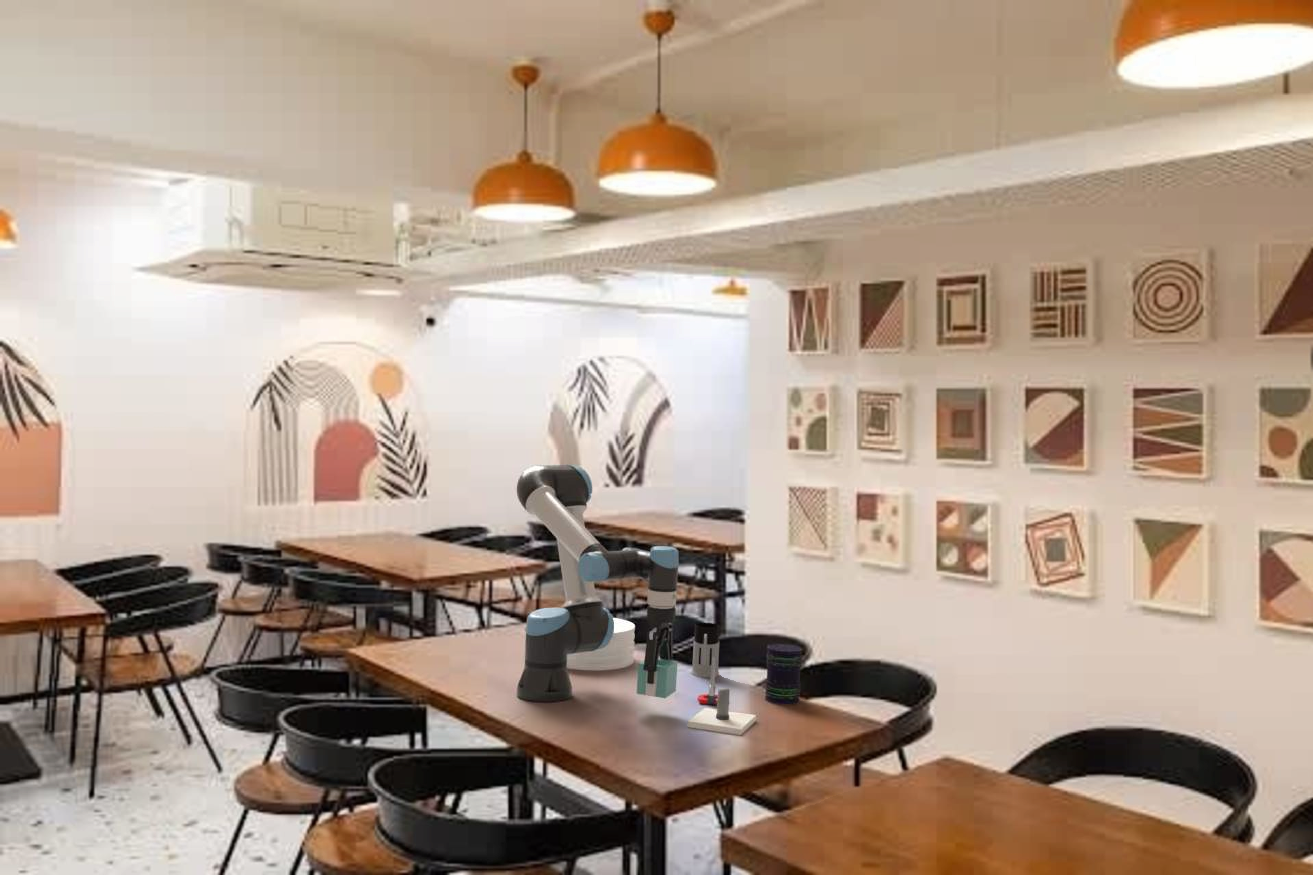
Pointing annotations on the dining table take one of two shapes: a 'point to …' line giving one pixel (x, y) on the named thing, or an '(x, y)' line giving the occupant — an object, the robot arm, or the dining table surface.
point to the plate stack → (608, 651)
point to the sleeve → (659, 678)
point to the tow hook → (710, 689)
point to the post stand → (722, 717)
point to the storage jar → (783, 674)
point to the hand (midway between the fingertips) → (656, 691)
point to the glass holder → (705, 649)
